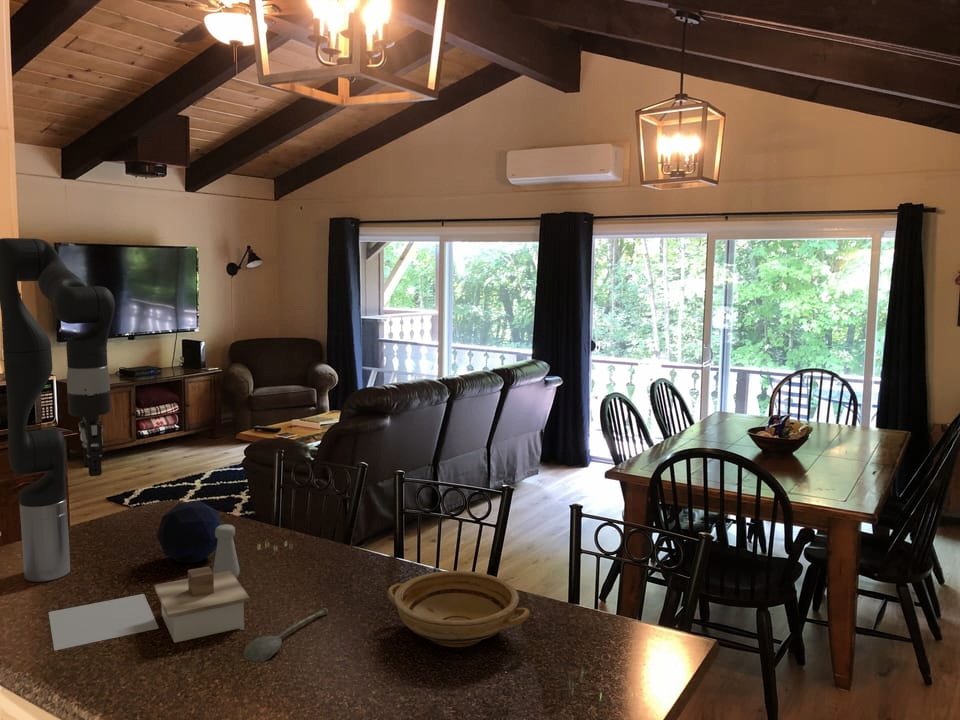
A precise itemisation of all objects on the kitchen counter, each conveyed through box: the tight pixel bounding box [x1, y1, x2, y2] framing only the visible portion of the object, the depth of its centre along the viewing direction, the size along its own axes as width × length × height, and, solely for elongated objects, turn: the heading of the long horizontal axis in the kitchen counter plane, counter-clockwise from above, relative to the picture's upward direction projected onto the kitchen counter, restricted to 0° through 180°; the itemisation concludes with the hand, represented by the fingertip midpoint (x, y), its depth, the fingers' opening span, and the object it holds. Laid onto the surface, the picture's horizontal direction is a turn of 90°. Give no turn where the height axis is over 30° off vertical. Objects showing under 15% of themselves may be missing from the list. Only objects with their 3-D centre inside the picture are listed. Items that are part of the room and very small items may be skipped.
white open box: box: [161, 603, 245, 644], centre depth 159 cm, size 13×13×6 cm
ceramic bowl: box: [386, 570, 531, 648], centre depth 156 cm, size 30×24×8 cm
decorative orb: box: [156, 500, 223, 564], centre depth 190 cm, size 14×15×15 cm
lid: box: [153, 566, 251, 618], centre depth 158 cm, size 15×15×5 cm
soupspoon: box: [242, 607, 329, 663], centre depth 155 cm, size 22×3×7 cm
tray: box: [48, 593, 160, 652], centre depth 159 cm, size 18×18×1 cm
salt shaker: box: [212, 524, 241, 580], centre depth 178 cm, size 6×6×13 cm
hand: (93, 470), depth 158 cm, fingers open, 8 cm apart
